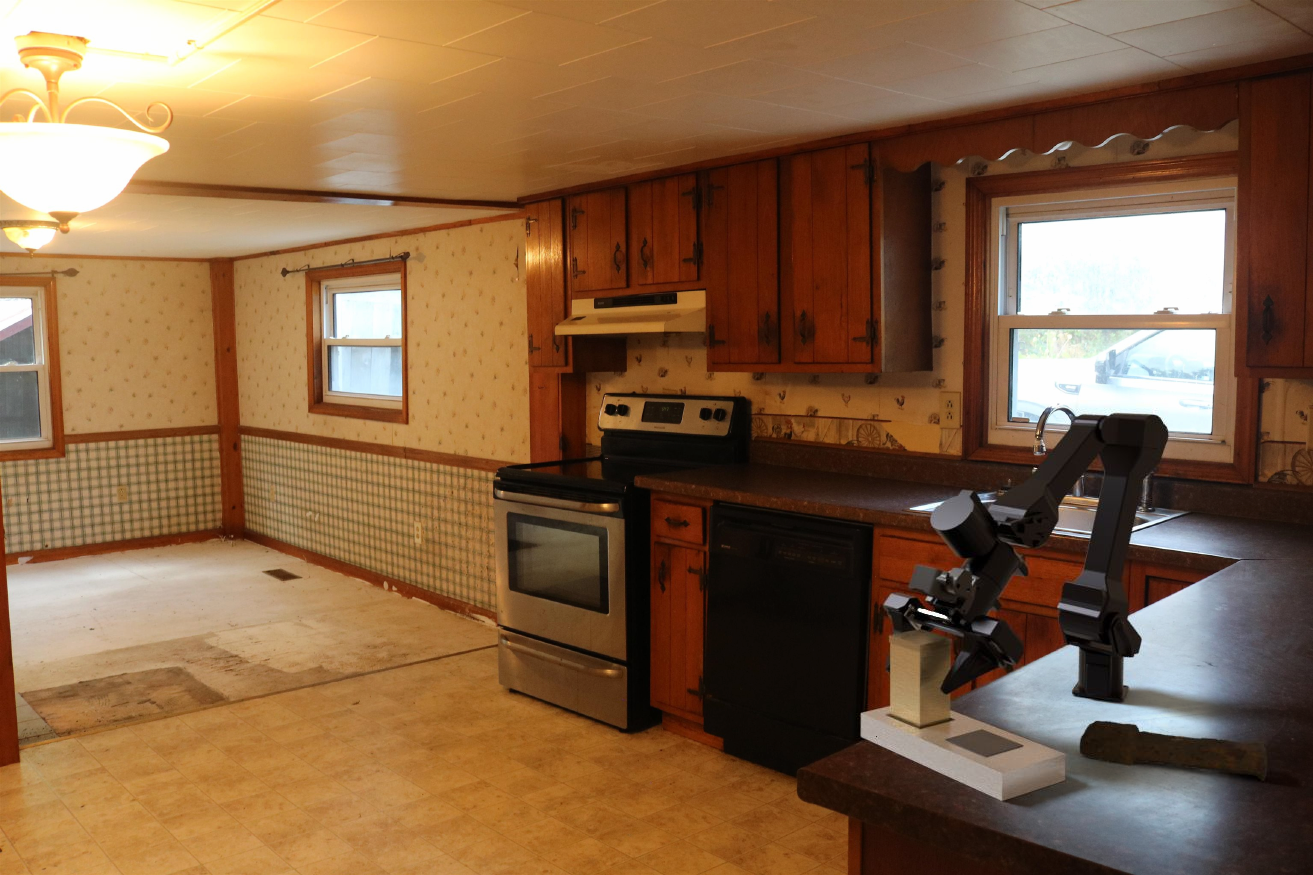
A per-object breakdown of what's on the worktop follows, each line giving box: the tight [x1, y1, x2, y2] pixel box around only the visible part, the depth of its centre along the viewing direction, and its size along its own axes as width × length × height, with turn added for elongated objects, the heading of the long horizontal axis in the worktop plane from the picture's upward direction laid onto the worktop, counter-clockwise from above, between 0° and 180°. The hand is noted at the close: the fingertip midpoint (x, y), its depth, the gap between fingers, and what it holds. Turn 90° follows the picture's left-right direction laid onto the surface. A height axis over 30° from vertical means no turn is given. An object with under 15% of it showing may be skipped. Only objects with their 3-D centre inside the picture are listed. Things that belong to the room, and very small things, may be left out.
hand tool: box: [1079, 720, 1268, 782], centre depth 117 cm, size 19×4×5 cm, turn 68°
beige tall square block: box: [888, 629, 953, 729], centre depth 125 cm, size 5×5×13 cm
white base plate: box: [860, 705, 1066, 802], centre depth 120 cm, size 10×22×3 cm, turn 30°
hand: (914, 681), depth 124 cm, fingers open, 9 cm apart
